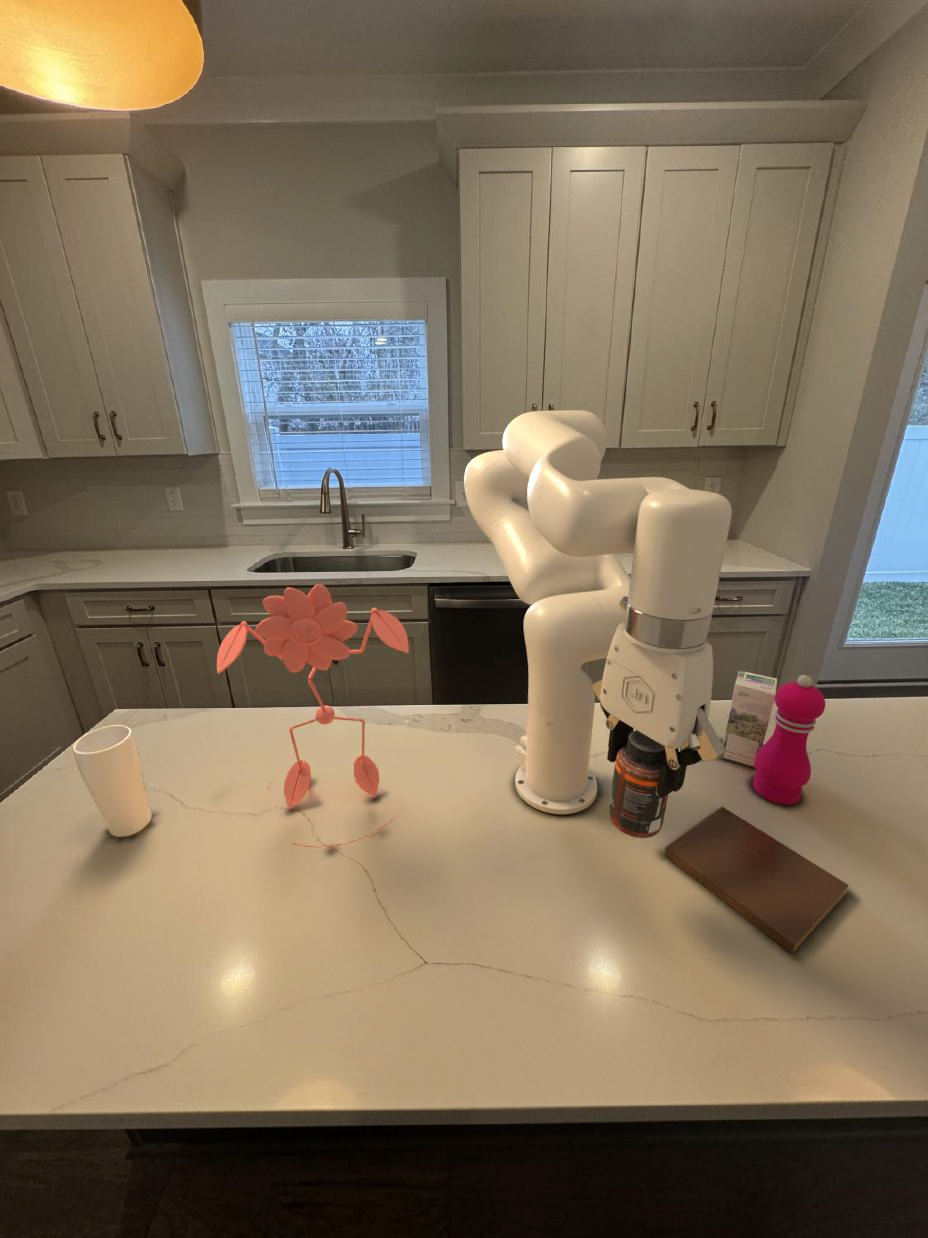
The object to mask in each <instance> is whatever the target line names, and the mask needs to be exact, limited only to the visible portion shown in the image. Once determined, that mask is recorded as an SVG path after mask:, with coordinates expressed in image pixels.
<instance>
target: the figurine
mask: <svg viewBox="0 0 928 1238" xmlns="http://www.w3.org/2000/svg"><path fill="white" fill-rule="evenodd" d="M262 607H263V608H264V609H265V610H266V612H267V613H268V614H269V615H270V616H268V617H267V618H265V619H262V620H261V621H260V622H259V623H258V624H256V626H255V628H254V629H252V627H250V626H249V625H248V622H247V621H244V620H243V621H241V622H240V624H238V625H236V626H233V628H231V630H230V631H229V632H228V633H227V634H226V635H225V637H224V638H223V640H222V642H221V644H220V645H219V649H218V651H217V655H216V673H217V674H218V675H219V674H221V673H222V672H224V671H225V670H227V668H230V666H231V665H232V664H233V663H234V662H236V661H237V659H238V658H239V657H240V655H241V654H242V652H243V650H244V647H245V645H246V643H247V638H248V633H250V634H251V636H252V637H254V638H255V639H256V640H258V641H259V642H260V643H261V644H262V645H263V651H264V654H265V655H266V656H269V657H277V658H278V659H279V660H280V661H281V662H283V664H284V667H286V669H287V670H288V671H289V672H290V673H291V674H294V673H295V674H296V673H300V672H301V671H303V670H304V668H305V666H306V663H307V664H308V665H310V666H311V667H312V669H311V671H310V673H309V675H308V677H307V679H308V681H307V683H308V685H309V687H310V689H311V691H312V692H313V695H314V697H315V699H316V700H317V702H318V704H319V707H318V708H317V709H316V711H315V718H313V719H310V720H307V721H304V722H301V723H298V724H296V725H293V726H289V729H288V730H289V734H290V738H291V742H292V746H293V751H294V754H295V758H296V762H294V764H293V765H292V766H291V767H290V769H289V770H288V772H287V773H286V776H285V779H284V785H283V794H284V797H285V802H286V805H287V807H288V809H289V810H291V809H293V808H294V807H295V806H296V805H297V804H298V803H300V802H301V800H302V799H304V797H306V794H307V793H308V790H309V789H310V785H311V780H312V771H311V766H310V764H309V763H308V762H307V760H303V759H300V755H299V751H298V747H297V743H296V740H295V736H294V731H293V730H294V729H296V728H300V727H302V726H305V725H309V724H311V723H314V722H317V723H319V724H321V725H330V724H331V723H332V722H333V721H334V720H337V721H338V720H339V721H353V722H361V755H360V756H357V757H356V758H355V760H354V762H353V778H354V780H355V783H356V784H357V786H358V787H359V788H360V790H362V791H364V792H365V793H367V794H368V795H369V796H372V797H373V798H376V797H377V795H378V791H379V785H380V774H379V769H378V767H377V764H376V763H375V762H374V760H372V759H371V758H370V757H369V756H368V755H365V740H366V739H365V734H366V733H365V732H366V731H365V730H366V729H365V727H366V725H365V724H366V721H365V719H364V718H355V717H354V718H353V717H345V716H344V717H343V716H336V714H335V713H336V712H335V710H334V708H333V707H332V706H331V705H325V704H324V703H323V700H322V698H321V696H320V694H319V692H318V690H317V688H316V686H315V684H314V681H313V679H314V676H315V673H316V671H317V670H320V671H327V670H329V668H331V664H332V661H339V660H345V659H347V658H349V657H350V655H351V654H352V655H353V654H357V655H358V654H360V655H361V654H363V652H365V648H366V646H367V643H368V640H369V637H370V636H369V635H370V633H371V631H372V627H373V631H374V632H375V634H376V635H377V637H378V638H379V640H380V641H382V642H383V643H384V644H385V645H386V646H387V647H388V648H391V649H394V650H396V651H399V652H401V653H405V654H409V652H410V651H409V648H410V647H409V639H408V633H407V632H406V631H407V630H406V629H405V627H404V625H403V623H402V622H401V621H400V619H398V618H397V616H395V615H394V614H392V613H391V612H390V613H389V612H388V611H387V610H385V609H384V610H383V609H378V608H377V607H372V608H371V615H370V618H369V621H368V624H367V627H366V630H365V633H364V637H363V640H362V643H361V646H360V649H350V648H349V646H348V645H347V644H345V643H344V641H346V640H348V639H350V638H352V637H354V635H356V633H357V632H358V629H359V626H358V625H357V623H356V622H354V621H352V620H348V619H347V615H348V607H347V604H346V603H345V602H343V601H339V602H334V603H333V600H332V595H331V592H330V591H329V589H328V588H327V586H325V585H324V584H322V583H317V584H315V585H314V586H313V587H312V588H311V589H310V590H309V592H308V593H307V594H306V593H304V592H303V591H301V590H299V589H296V588H294V587H286V588H285V589H284V590H283V596H282V595H269V596H266V597H265V598H263V599H262ZM264 638H265V639H264ZM272 783H273V781H271V782H270V784H269V785H268V786H267V788H266V789H267V790H268V789H269V788H270V786H271V784H272ZM397 816H398V814H395V816H394V817H393V818H392V819H390V820H389V822H387V823H386V824H384V825H383V826H381V827H380V828H379V829H377V830H375V831H373V832H371V833H370V834H368V835H365V836H362V837H360V838H358V839H355V840H351V841H348V842H345V843H340V844H334V845H324V846H320V848H328V851H330V850H334V849H336V847H337V849H339V848H340V847H338V846H344V845H347V844H350V843H354V842H357V841H360V840H362V839H364V838H367V837H369V836H370V837H369V839H371V838H372V837H374V836H376V835H377V832H379V831H380V830H382V829H383V828H384V827H386V826H387V825H389V824H390V823H391V822H392V821H393V820H394V819H395V818H396V817H397ZM371 835H372V836H371ZM292 845H296V846H299V847H305V848H318V846H315V845H314V846H312V845H302V844H298V843H294V842H292Z"/></svg>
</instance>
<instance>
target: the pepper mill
mask: <svg viewBox="0 0 928 1238" xmlns="http://www.w3.org/2000/svg"><path fill="white" fill-rule="evenodd" d="M813 682H814V681H813V679H812V677H811V676H809V675H807V674H802V675H799V676H798V678H797V681H790V682H787V683H784V684H782V685H781V686H780V687H779V688H778V689H777V690H776V695H775V700H774V704H775V706H776V710H775V712H774V713H775V714H774V716H773V720H774V722H775V728H774V731H773V733H772V735H771V736H770V738H768V740H767V741H766V742H764V743H763V746H762V747H761V748H760V750H759V751H758V753H757V755H756V758H755V761H754V765H755V768H754V769H755V770H756V772H755V773H754V775H753V776H754V777H753V780H752V786H753V789H754V790H755V791H756V793H757V794H758V795H760V796H761V797H763V798H764V799H766V800H768V801H769V802H772V803H775V804H779V805H792V804H793V805H795V804H796V803H798V802H799V801H800V799H801V795H802V792H803V787H804V786H805V785H807V784H808V782H809V781H810V779H811V774H812V767H811V761H810V758H809V754H808V750H807V743H808V737H809V735H810V733H812V732H814V731H815V728H816V727H815V725H816V724H817V720H816V719H818V718H819V717H821V716H822V715H823V714H824V712H825V709H826V699H825V696H824V695H823V693H822V692H821V691H820V690H819V688H817V687H815V686H814V685H813Z"/></svg>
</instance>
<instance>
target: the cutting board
mask: <svg viewBox="0 0 928 1238" xmlns="http://www.w3.org/2000/svg"><path fill="white" fill-rule="evenodd" d="M664 856H665V857H666V858H667V859H668V860H670V861H671V862H673V863H674V864H675V865H676V866H678V867H679V868H680V869H682V871H684V872H685V873H687V874H688V875H689V876H691V877H692V878H694V880H696V882H698V883H699V884H701V885H702V886H703V887H705V888H706V889H707V890H709V891H710V892H711V893H713V894H714V895H715V896H716V897H718V898H719V899H720V900H722V901H723V902H724V903H725V904H727V905H728V906H729V907H731V908H732V909H733V910H735V911H736V912H737V913H738V914H740V915H741V916H742V917H743V918H744V919H746V920H747V921H749V922H750V923H752V925H754V926H755V927H757V928H758V929H759V930H761V931H762V932H763V933H764V934H766V935H767V936H768V937H769V938H771V939H772V940H773V941H775V942H776V943H777V944H778V945H780V946H781V947H782V948H784V949H785V950H786V951H787V952H789V953H790V954H794V952H796V950H798V948H799V947H800V946H801V945H802V944H803V942H805V940H806V939H807V938H808V937H809V936H810V935H811V934H812V932H813V931H814V930H815V929H816V928H817V927H818V926H819V925H820V923H821V922H822V921H823V920H824V919H825V918H826V917H827V916H828V915H829V913H830V912H831V911H832V910H833V909H834V908H835V907H836V906H837V905H838V904H839V902H840V901H841V900H842V899H843V898H844V897H845V896H846V894H847V892H848V889H849V887H850V885H849V884H848V883H846V882H845V881H843V880H841V879H840V878H838V877H837V876H835V875H833V874H832V873H830V872H829V871H827V870H825V869H824V868H823V867H820V866H819V865H817V864H816V863H814V862H812V861H811V860H809V859H807V858H806V857H805V856H803V855H801V854H800V853H798V852H796V851H795V850H793V849H792V848H790V847H788V846H787V845H785V844H784V843H782V842H781V841H779V840H777V839H776V838H774V837H772V836H770V835H769V834H768V833H766V832H765V831H763V830H762V829H759V827H756V826H755V825H753V824H752V823H749V822H748V821H747V820H745V819H743V818H742V817H741V816H739V815H737V814H736V813H734V812H732V811H731V810H729V809H728V808H726V807H724V806H721V807H719V808H718V809H717V810H715V811H713V813H711V814H709V815H708V816H707V817H705V818H704V819H703V820H701V821H700V822H699V823H698V824H696V825H695V826H693V827H691V828H690V829H688V830H687V831H686V832H685V833H683V834H682V835H680V836H679V837H678V838H676V839H675V840H673V841H672V842H670V843H669V844H668V845H667V846H665V850H664Z"/></svg>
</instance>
